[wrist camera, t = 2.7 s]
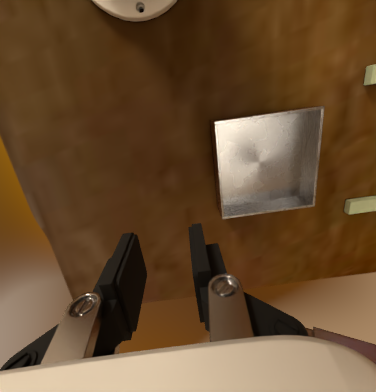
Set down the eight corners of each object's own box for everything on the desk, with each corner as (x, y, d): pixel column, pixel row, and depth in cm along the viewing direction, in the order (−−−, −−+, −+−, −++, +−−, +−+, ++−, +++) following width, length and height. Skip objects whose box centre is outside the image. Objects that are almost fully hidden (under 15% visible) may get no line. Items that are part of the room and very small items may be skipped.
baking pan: (209, 120, 26) (214, 121, 23) (306, 107, 26) (324, 105, 22) (217, 207, 30) (222, 219, 27) (300, 196, 30) (314, 206, 27)
